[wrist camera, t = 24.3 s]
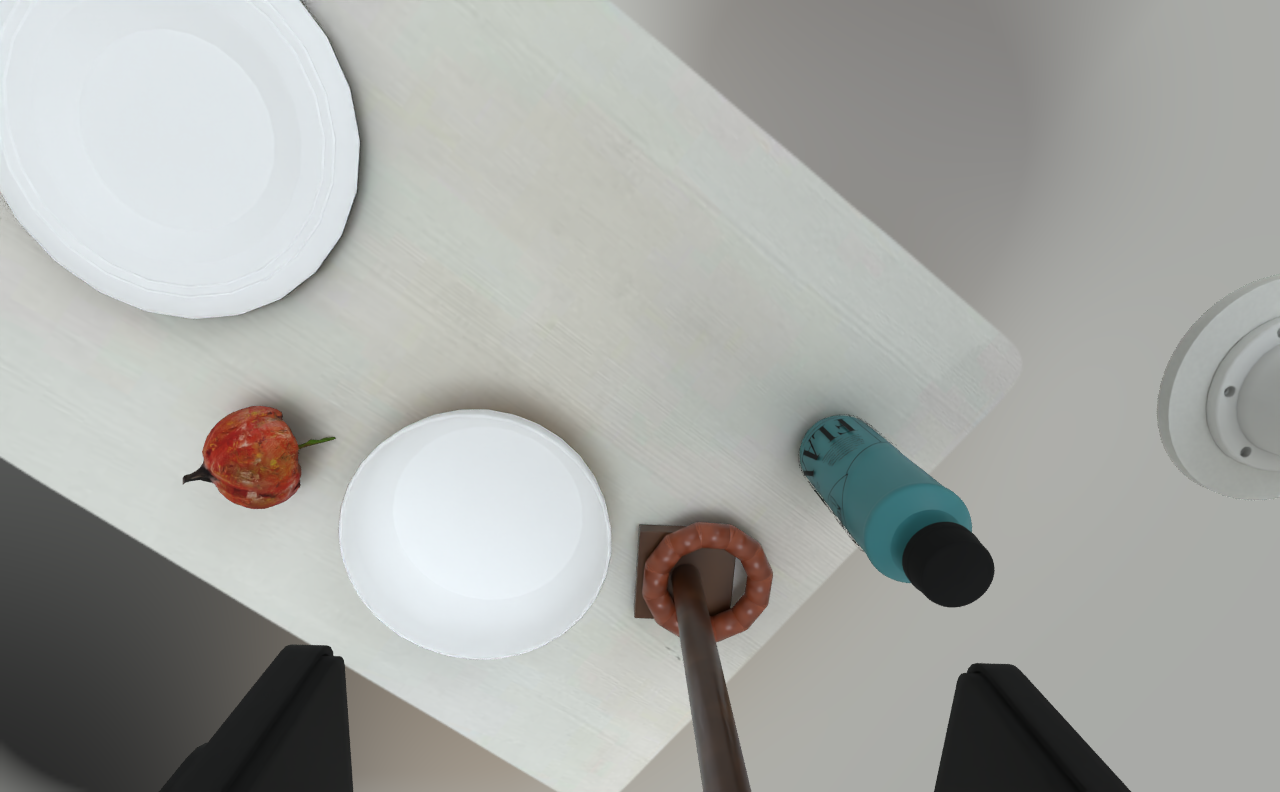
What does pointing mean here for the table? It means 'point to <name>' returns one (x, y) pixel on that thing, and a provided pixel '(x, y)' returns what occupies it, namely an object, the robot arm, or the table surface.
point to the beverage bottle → (896, 511)
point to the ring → (711, 538)
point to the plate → (177, 146)
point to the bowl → (475, 534)
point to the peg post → (701, 653)
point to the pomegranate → (252, 458)
